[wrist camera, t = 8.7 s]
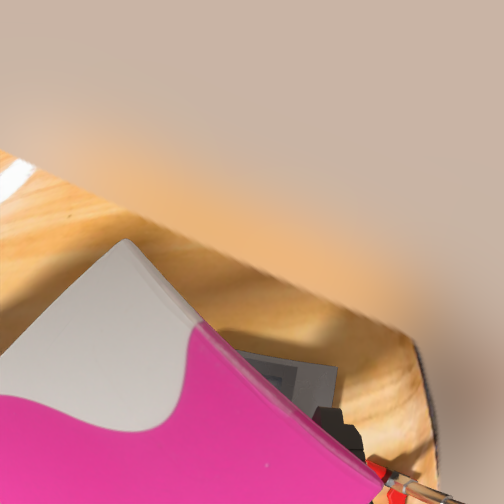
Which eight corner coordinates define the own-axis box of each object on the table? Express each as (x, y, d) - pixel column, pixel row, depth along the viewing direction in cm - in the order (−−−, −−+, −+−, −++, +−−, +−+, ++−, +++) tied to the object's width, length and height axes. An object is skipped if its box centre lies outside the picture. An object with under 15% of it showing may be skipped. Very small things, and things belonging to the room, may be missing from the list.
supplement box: (126, 420, 13) (-58, 402, 3) (208, 350, 15) (138, 213, 5) (205, 501, 11) (134, 642, 1) (290, 428, 13) (411, 467, 3)
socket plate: (115, 444, 21) (94, 448, 17) (145, 329, 27) (129, 315, 23) (309, 489, 20) (321, 503, 16) (333, 369, 26) (348, 361, 22)
